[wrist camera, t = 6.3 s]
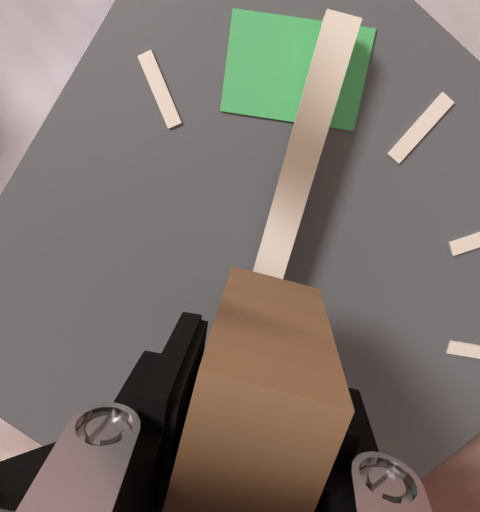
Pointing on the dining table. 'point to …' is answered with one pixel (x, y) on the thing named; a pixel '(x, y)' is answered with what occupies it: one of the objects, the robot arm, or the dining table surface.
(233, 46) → the board
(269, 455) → the wooden block with handle
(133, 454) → the robot arm
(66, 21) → the dining table surface
